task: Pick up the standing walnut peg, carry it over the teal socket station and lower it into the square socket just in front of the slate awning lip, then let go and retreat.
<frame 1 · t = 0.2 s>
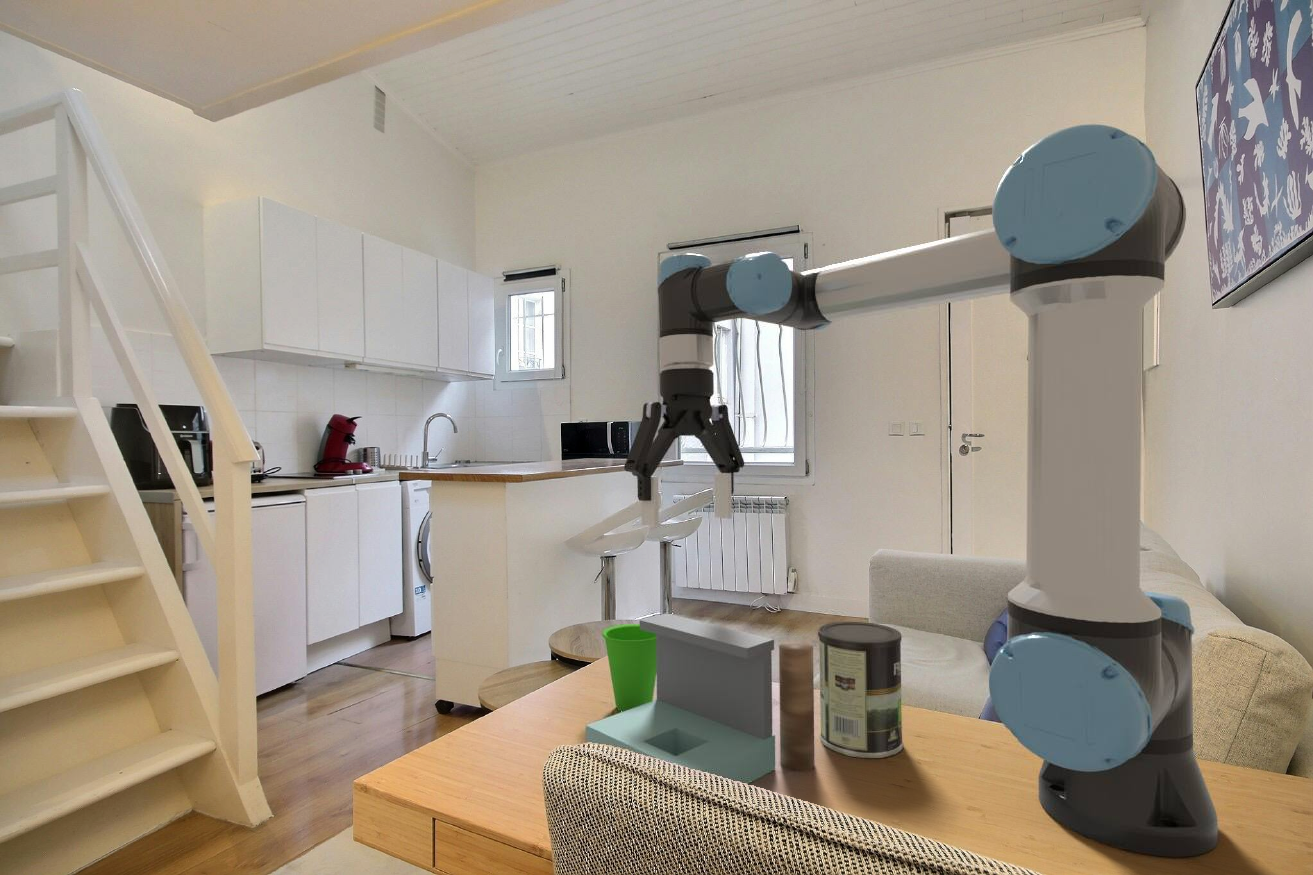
hand: (688, 521, 97), 27 cm above the table, fingers open, 13 cm apart
socket station: (678, 763, 83), on the table
coffee can: (860, 742, 89), on the table
peg: (797, 763, 83), on the table
cup: (633, 708, 101), on the table
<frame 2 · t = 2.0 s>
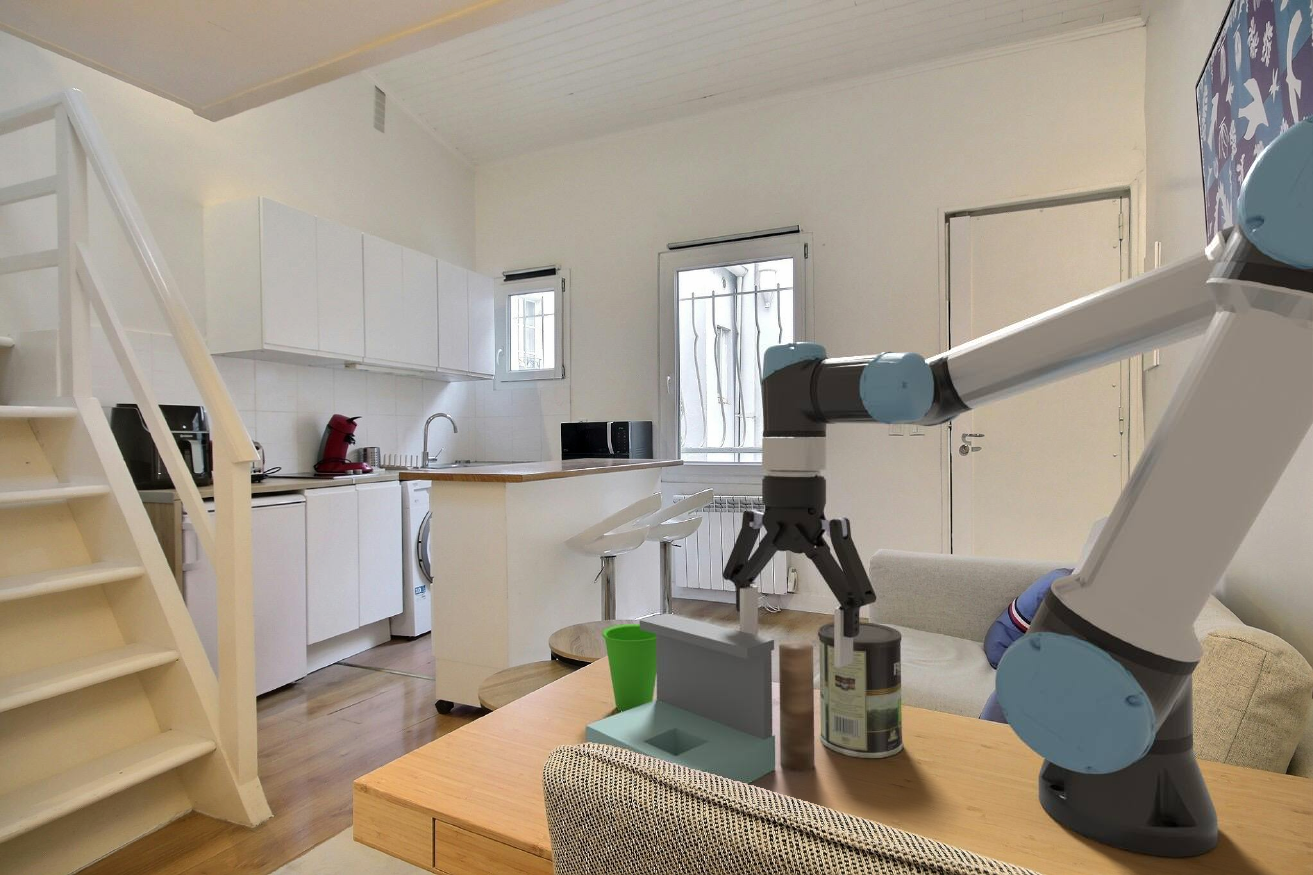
hand: (793, 651, 83), 13 cm above the table, fingers open, 13 cm apart
nothing on the table moved.
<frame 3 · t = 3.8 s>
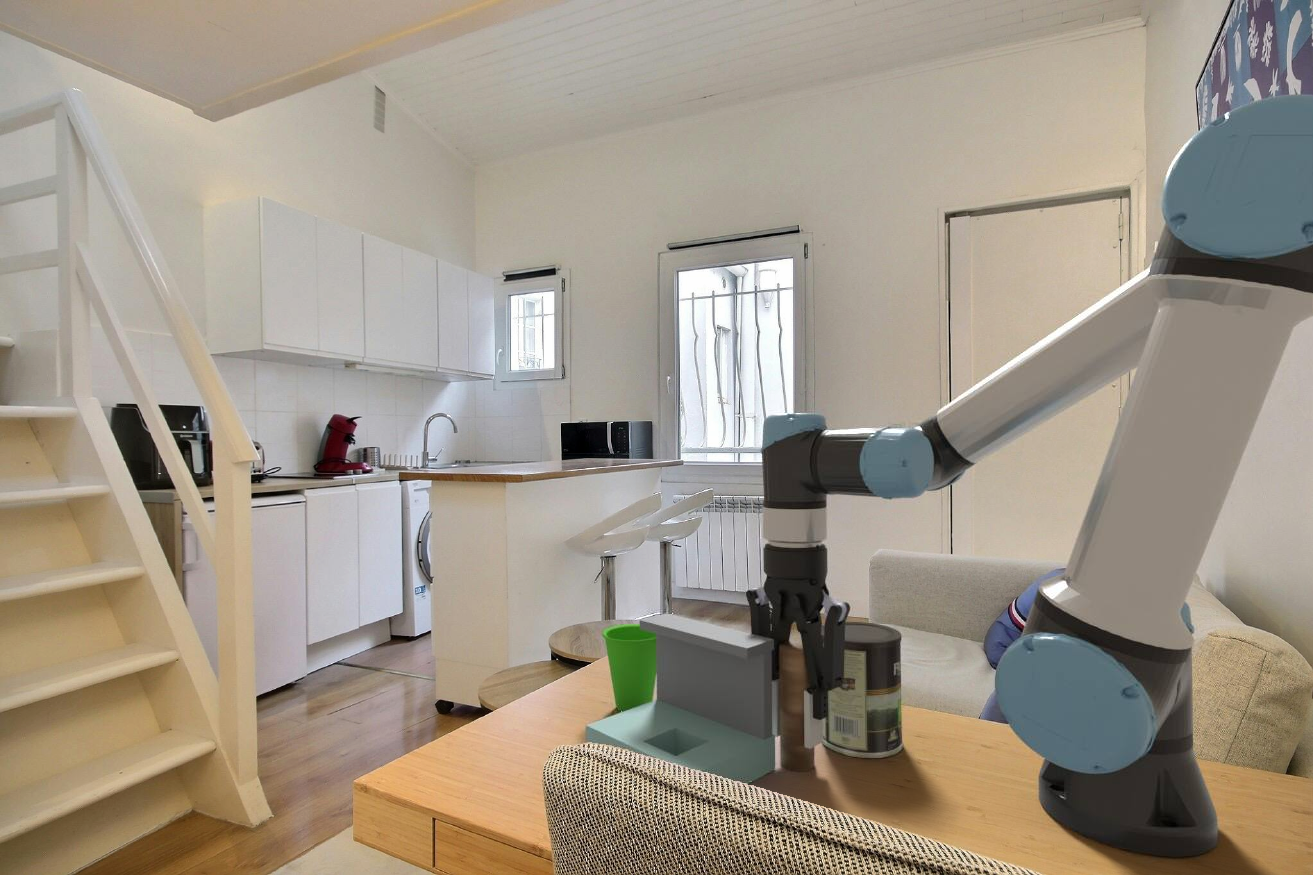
hand: (797, 737, 83), 3 cm above the table, fingers closed on peg, 4 cm apart
peg: (797, 763, 83), on the table, touching gripper
everything else where it was.
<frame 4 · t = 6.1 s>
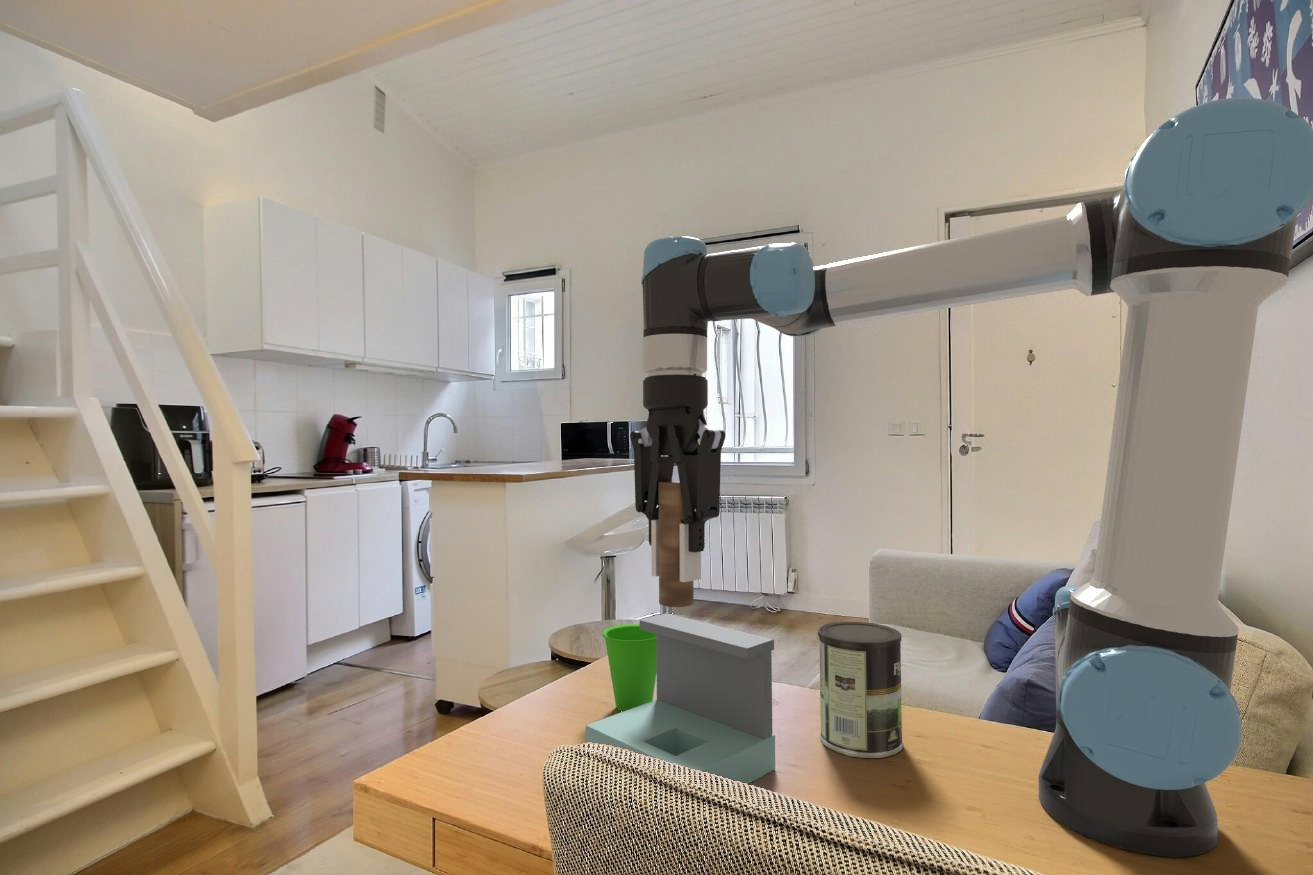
hand: (675, 576, 81), 23 cm above the table, fingers closed on peg, 4 cm apart
peg: (676, 602, 81), point 20 cm above the table, touching gripper
everything else where it was.
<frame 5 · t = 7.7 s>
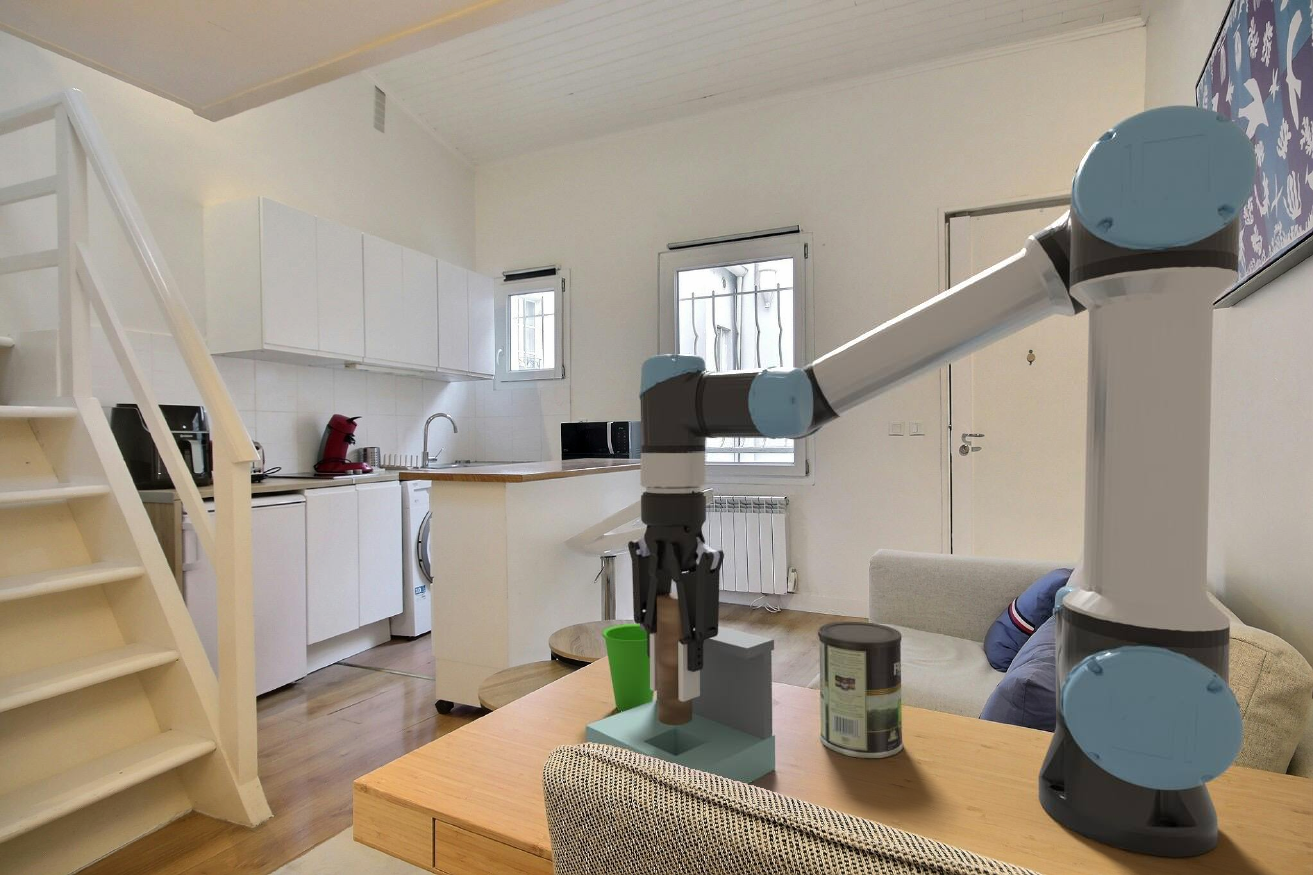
hand: (674, 692, 80), 10 cm above the table, fingers closed on peg, 4 cm apart
peg: (675, 718, 80), point 7 cm above the table, touching gripper
everything else where it was.
when the fingers open (5 cm above the table, at t = 8.9 s): peg drops 1 cm, resting in socket station.
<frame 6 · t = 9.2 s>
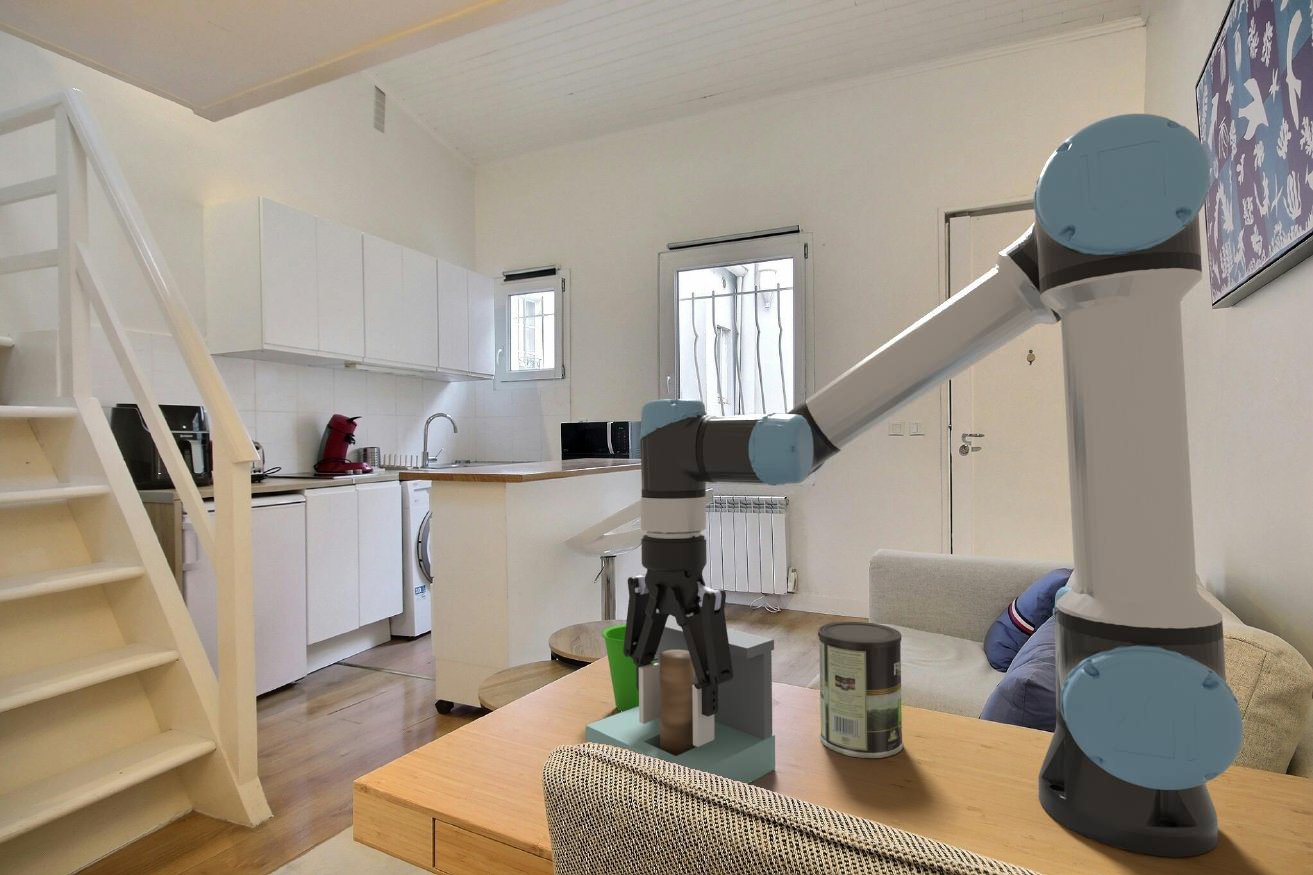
hand: (675, 730, 80), 5 cm above the table, fingers open, 8 cm apart
peg: (677, 776, 80), resting in socket station
everything else where it was.
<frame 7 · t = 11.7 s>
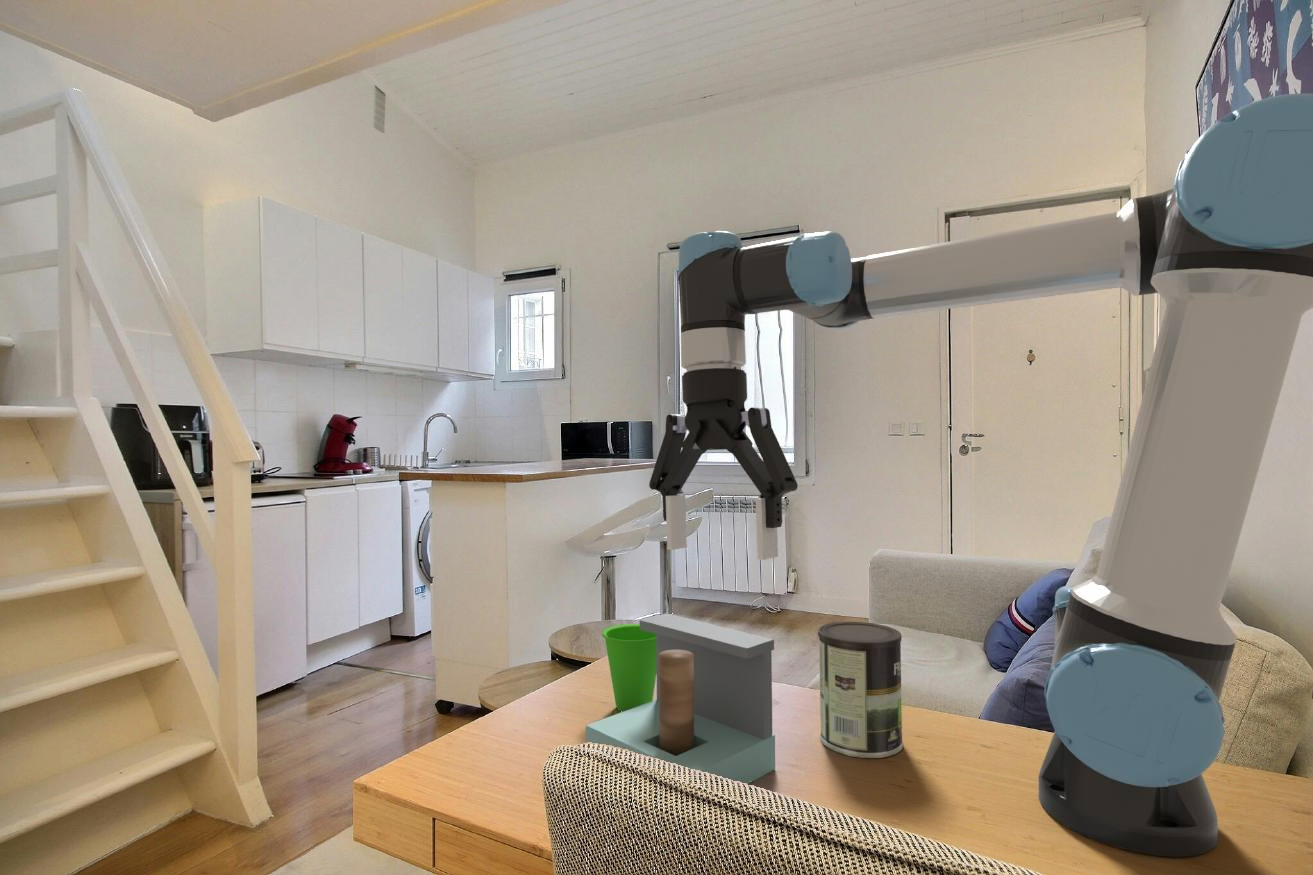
hand: (719, 553, 81), 26 cm above the table, fingers open, 13 cm apart
nothing on the table moved.
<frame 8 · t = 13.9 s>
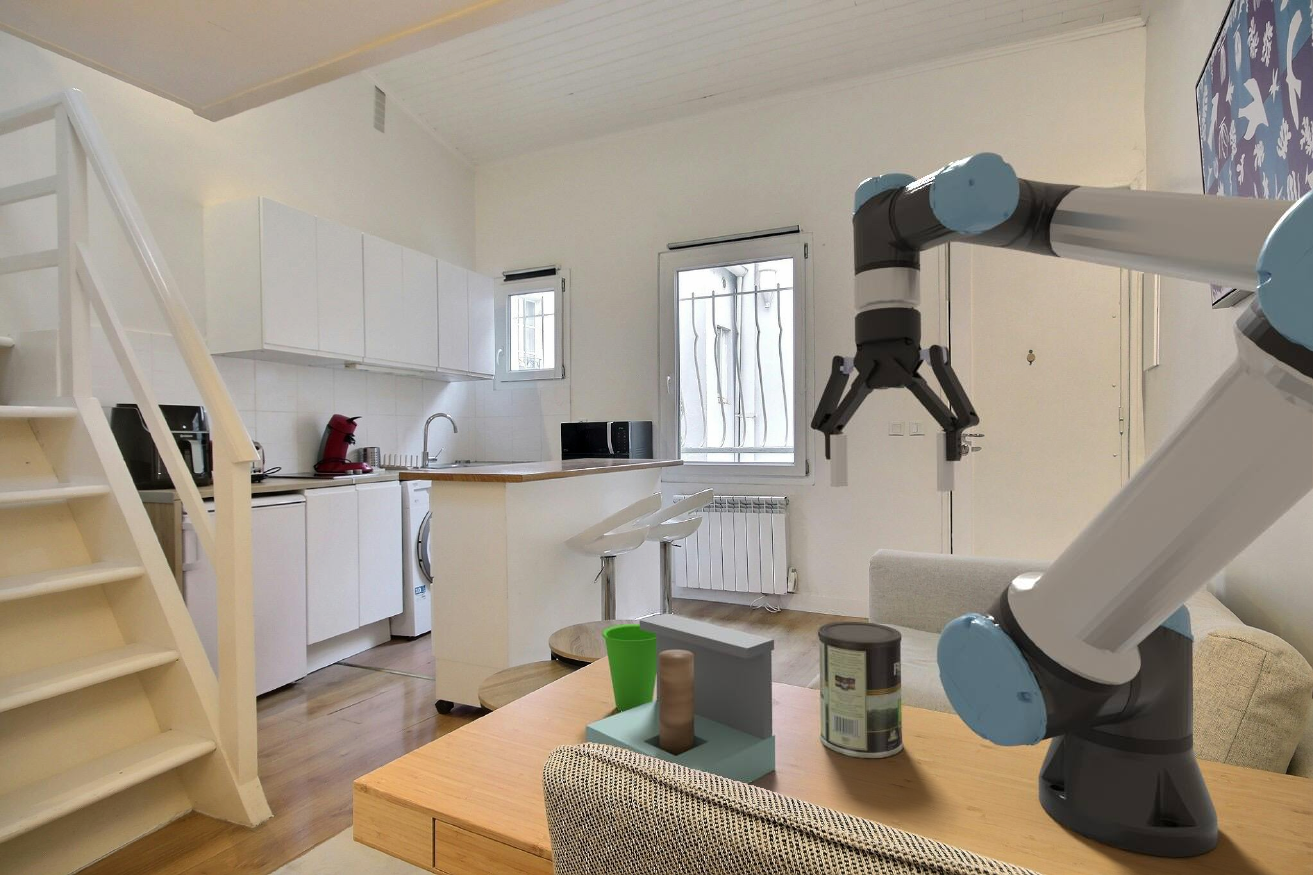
hand: (889, 488, 83), 33 cm above the table, fingers open, 13 cm apart
nothing on the table moved.
at the end: peg 0.1 cm from the target spot on the socket station, point 0.0 cm above the socket station's base; peg tilted 0°; the gripper is holding nothing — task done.
